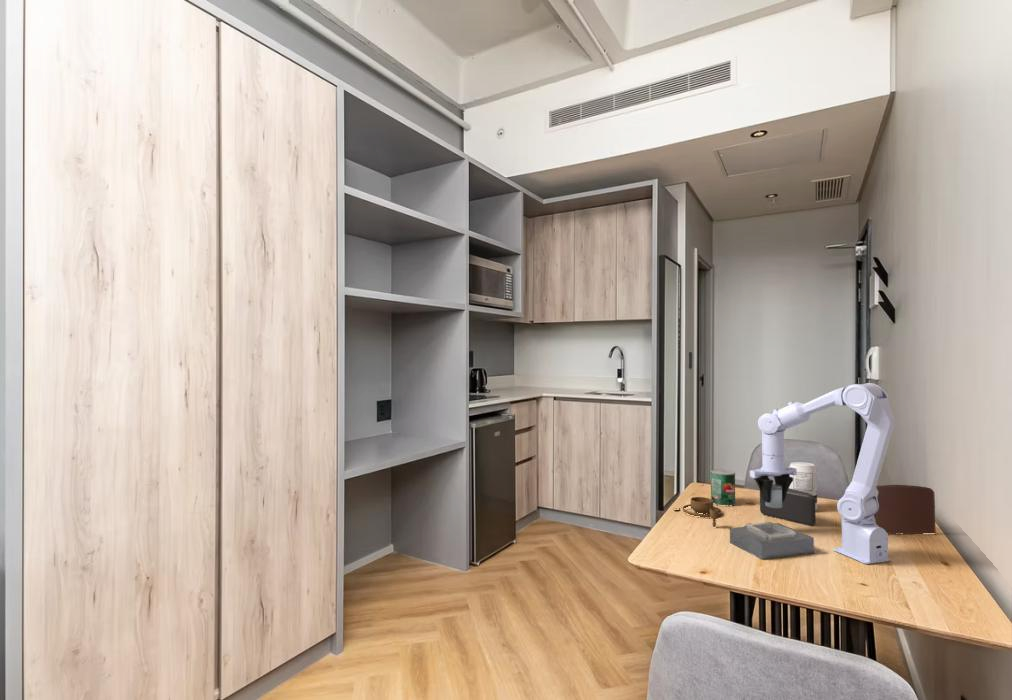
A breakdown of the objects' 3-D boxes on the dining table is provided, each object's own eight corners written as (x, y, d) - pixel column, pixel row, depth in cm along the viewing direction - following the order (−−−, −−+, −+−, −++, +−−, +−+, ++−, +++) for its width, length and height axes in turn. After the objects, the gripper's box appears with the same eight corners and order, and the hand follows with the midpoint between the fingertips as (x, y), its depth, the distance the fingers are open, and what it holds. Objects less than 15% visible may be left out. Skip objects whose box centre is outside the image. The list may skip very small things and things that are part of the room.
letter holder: (936, 535, 146) (935, 485, 146) (865, 534, 146) (864, 485, 147) (910, 524, 156) (909, 477, 156) (843, 523, 156) (842, 477, 157)
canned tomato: (733, 507, 173) (733, 475, 173) (709, 504, 177) (708, 472, 177) (737, 502, 179) (736, 470, 180) (713, 498, 183) (712, 468, 184)
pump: (785, 507, 148) (785, 486, 148) (773, 508, 146) (772, 487, 147) (774, 503, 152) (774, 483, 152) (761, 504, 151) (761, 484, 151)
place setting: (735, 514, 167) (735, 496, 167) (720, 532, 151) (719, 511, 151) (681, 505, 177) (681, 488, 177) (661, 520, 161) (661, 502, 161)
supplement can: (783, 506, 173) (782, 462, 173) (802, 504, 176) (801, 460, 176) (803, 513, 166) (803, 467, 166) (823, 511, 168) (822, 465, 168)
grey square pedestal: (813, 553, 133) (813, 532, 133) (761, 559, 129) (761, 538, 129) (768, 532, 148) (767, 514, 148) (720, 537, 144) (720, 519, 144)
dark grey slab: (820, 524, 155) (819, 493, 156) (814, 527, 153) (813, 495, 153) (765, 512, 168) (765, 483, 168) (759, 514, 165) (758, 485, 165)
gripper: (783, 450, 155) (784, 495, 155) (742, 453, 151) (742, 499, 151) (802, 455, 148) (802, 502, 148) (759, 457, 145) (760, 505, 144)
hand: (773, 501), depth 149 cm, fingers closed on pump, 4 cm apart
